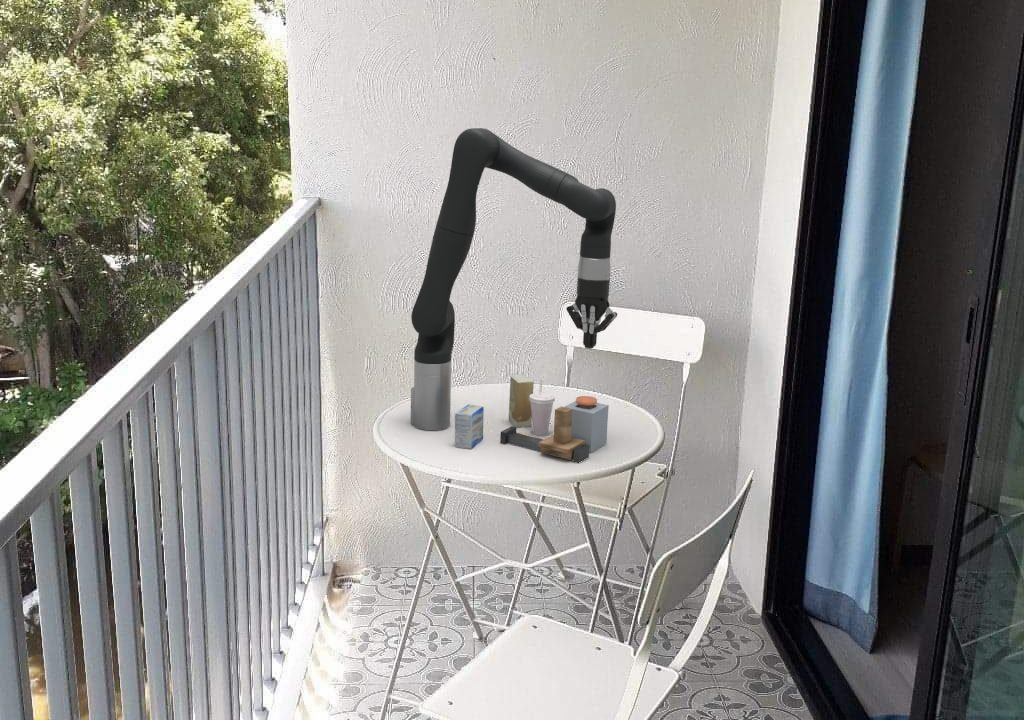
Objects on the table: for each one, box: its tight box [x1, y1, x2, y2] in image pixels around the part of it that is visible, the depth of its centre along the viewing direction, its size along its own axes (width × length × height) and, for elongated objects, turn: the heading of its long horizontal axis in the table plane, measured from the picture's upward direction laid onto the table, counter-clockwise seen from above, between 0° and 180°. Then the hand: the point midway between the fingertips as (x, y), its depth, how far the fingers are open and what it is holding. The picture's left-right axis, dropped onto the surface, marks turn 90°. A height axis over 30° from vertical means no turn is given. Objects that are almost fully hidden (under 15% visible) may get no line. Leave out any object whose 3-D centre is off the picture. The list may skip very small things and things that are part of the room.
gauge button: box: [575, 395, 598, 410], centre depth 242 cm, size 5×5×7 cm
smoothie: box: [529, 378, 556, 437], centre depth 250 cm, size 6×6×14 cm
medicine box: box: [454, 404, 485, 450], centre depth 242 cm, size 8×4×9 cm, turn 160°
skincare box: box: [507, 374, 535, 428], centre depth 257 cm, size 6×4×12 cm
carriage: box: [539, 406, 585, 461], centre depth 236 cm, size 8×8×11 cm
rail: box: [499, 425, 590, 464], centre depth 240 cm, size 22×5×3 cm, turn 57°
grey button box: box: [563, 400, 610, 454], centre depth 243 cm, size 8×8×10 cm
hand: (589, 347), depth 238 cm, fingers closed
